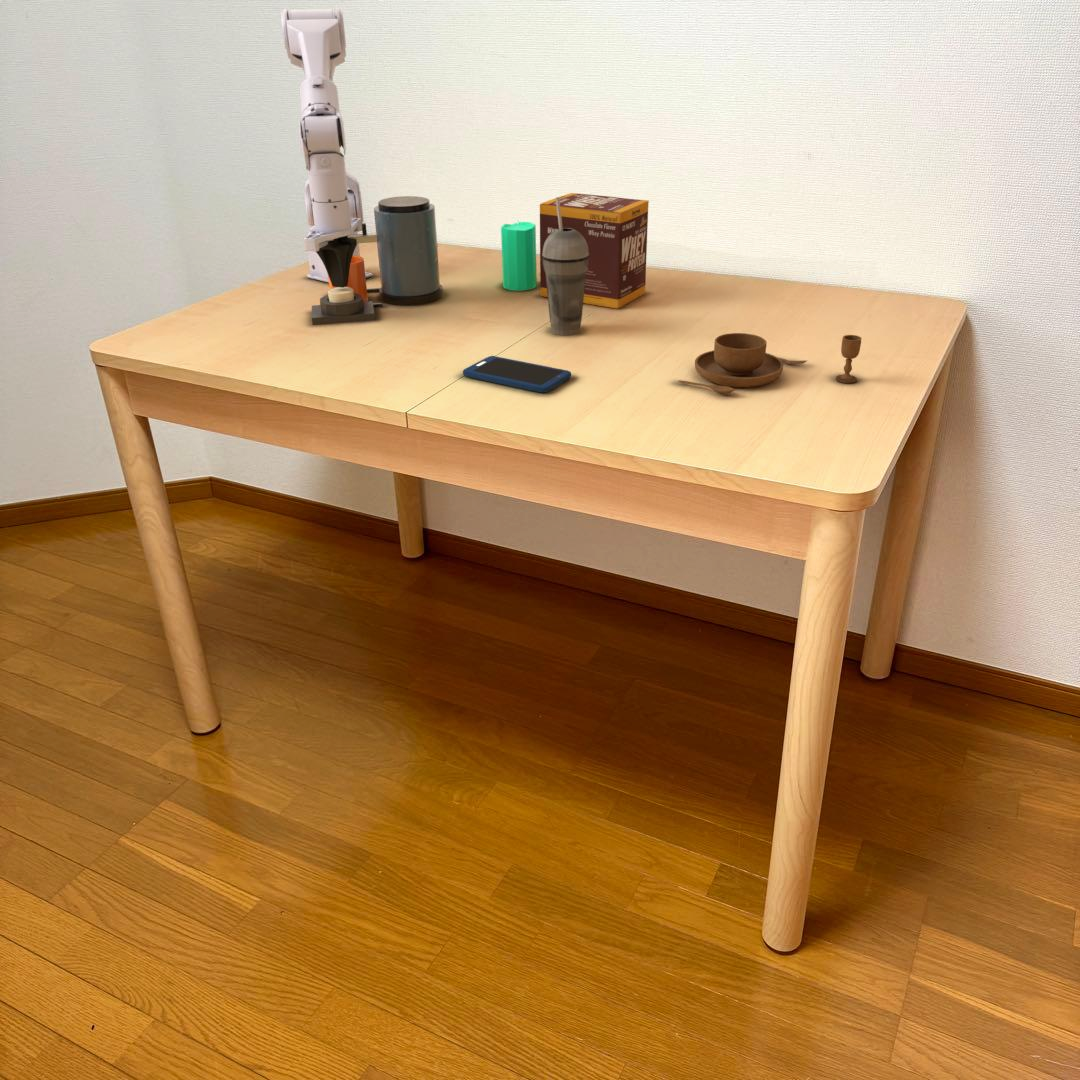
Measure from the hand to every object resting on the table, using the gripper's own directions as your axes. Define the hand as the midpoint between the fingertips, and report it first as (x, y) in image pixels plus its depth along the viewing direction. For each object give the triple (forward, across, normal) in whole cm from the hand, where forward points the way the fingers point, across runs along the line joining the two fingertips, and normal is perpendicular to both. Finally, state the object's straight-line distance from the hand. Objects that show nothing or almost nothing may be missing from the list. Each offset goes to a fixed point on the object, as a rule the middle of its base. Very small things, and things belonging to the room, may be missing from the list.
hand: (340, 286), depth 164 cm
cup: (+5, -8, -3) cm, 10 cm away
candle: (+5, -25, +21) cm, 33 cm away
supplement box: (+5, -23, +36) cm, 43 cm away
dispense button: (+2, 0, 0) cm, 2 cm away
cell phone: (+5, +18, +37) cm, 42 cm away
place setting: (+5, +9, +70) cm, 71 cm away
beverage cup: (+5, -4, +37) cm, 38 cm away
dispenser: (+5, -11, +2) cm, 12 cm away
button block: (+5, 0, 0) cm, 5 cm away
